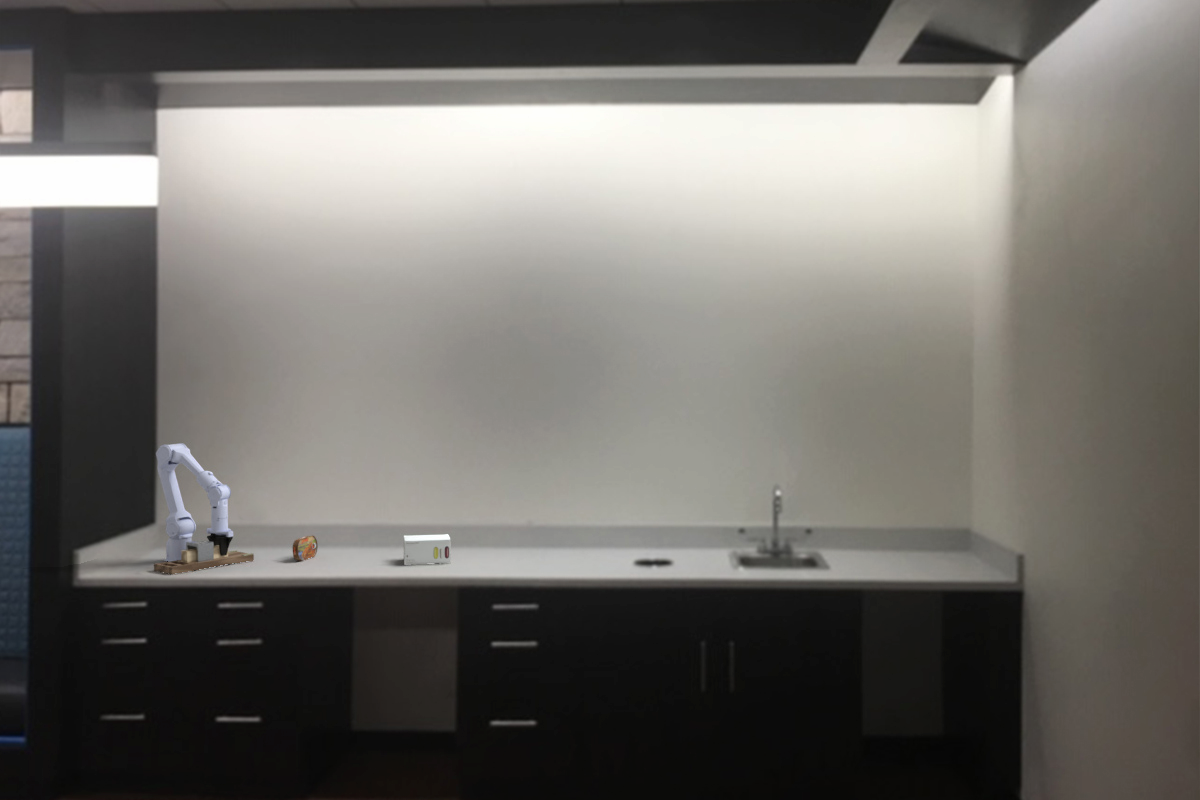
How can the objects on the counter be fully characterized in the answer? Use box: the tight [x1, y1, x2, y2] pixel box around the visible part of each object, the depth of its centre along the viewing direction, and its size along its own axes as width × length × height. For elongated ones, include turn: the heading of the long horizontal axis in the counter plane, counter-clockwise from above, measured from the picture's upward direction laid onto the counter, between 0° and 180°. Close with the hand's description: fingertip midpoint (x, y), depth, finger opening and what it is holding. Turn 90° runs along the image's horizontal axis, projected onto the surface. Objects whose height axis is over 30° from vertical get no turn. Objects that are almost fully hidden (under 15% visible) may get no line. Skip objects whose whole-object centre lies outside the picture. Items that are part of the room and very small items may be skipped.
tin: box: [292, 534, 319, 562], centre depth 368 cm, size 15×3×8 cm, turn 168°
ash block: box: [181, 545, 229, 563], centre depth 355 cm, size 4×16×4 cm, turn 143°
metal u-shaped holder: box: [186, 539, 214, 562], centre depth 353 cm, size 8×6×6 cm
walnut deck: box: [153, 550, 255, 575], centre depth 355 cm, size 12×32×3 cm, turn 143°
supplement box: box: [403, 533, 452, 566], centre depth 361 cm, size 17×13×9 cm
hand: (220, 554), depth 359 cm, fingers closed on ash block, 4 cm apart
